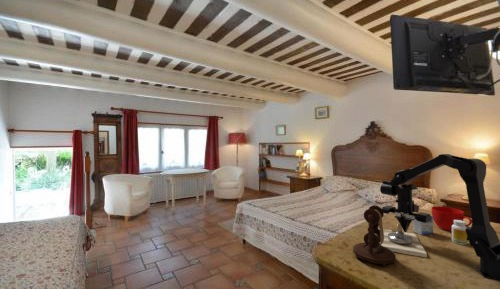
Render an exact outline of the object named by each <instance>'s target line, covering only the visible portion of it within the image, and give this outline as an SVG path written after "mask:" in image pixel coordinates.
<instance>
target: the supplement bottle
mask: <svg viewBox="0 0 500 289" xmlns="http://www.w3.org/2000/svg"><path fill="white" fill-rule="evenodd" d="M465 225H467V224H466V221H464V220H463V221H461V220H454V224H453V225H452V231H451V243H455V244H457V245H462V246H464V245H465V246H466V245H468V240H467V233H466V228H468V226H467V227H465Z"/></svg>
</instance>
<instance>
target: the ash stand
mask: <svg viewBox="0 0 500 289" xmlns="http://www.w3.org/2000/svg"><path fill="white" fill-rule="evenodd" d="M378 229H379V228H378ZM379 230H380V229H379ZM395 231H396V230H393V229H384V228H383V232H384V241H383V243H382V244H381V245H382V246H384V247H386V248H388V249H390V250H391V251H392V252H394V253H400V254H404V255H411V256H416V257H422V258H428V254H427V251H426V250H425V248H424V247H423V245H422V244H421V242H420V240H419V239H418V237H417V235H416V234H415V232H413V233H412V232H408V231H407V232H406V233H405V232H404V231H403V232H404V235H407V236H409V237H411V238H412V244H410V245H402V244H397V243H394V242H392V241H390V240H389V239H388V234H389V233H395ZM380 243H381V242H380Z"/></svg>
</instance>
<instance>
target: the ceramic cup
mask: <svg viewBox="0 0 500 289" xmlns="http://www.w3.org/2000/svg"><path fill="white" fill-rule="evenodd" d="M431 216H433V223H435V225H436V226H437V227H438V228H439V229H441V230H444V231H446V232H447V231H448V232H452V225H453V224H454V220H461V221H464V219H467V220H468V224H466V225H465V227H467V228H468V227H471V226H472V219H471V218H470V217H468V216H465V211H463V210H461V209H458V208H455V207H448V206H441V205H440V206H432V207H431Z"/></svg>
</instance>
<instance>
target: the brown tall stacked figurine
mask: <svg viewBox="0 0 500 289" xmlns="http://www.w3.org/2000/svg"><path fill="white" fill-rule="evenodd" d="M384 214H385V213H384V212H383V210H382V208H381V207H380V206H379V205H377V204H376V205H375V204H374V205H370V207H368V209H365V211H364V212H363V219H364V221H366V222H367V223H368V227H367V232H366V233H365V234H364V235H363V241H364V242H359V243H356V244H354V245H353V248H352V252H353V253H354V255H355V258H356V259H359V258H360V259H361V260H364V261H367V262H369V263H373V264H379V265H382V266H383V267H384V268H386V267H387V265H388V264H390V265H391V264H393V263H395V261H396V254H395V252H392V251H391V250H390V249H388V248H386V247H384V246H382V245H381V244H382V243H383V241H384V232H383V229H384V226H383V217H384ZM379 229H380V230H379ZM380 242H381V243H380Z"/></svg>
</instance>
